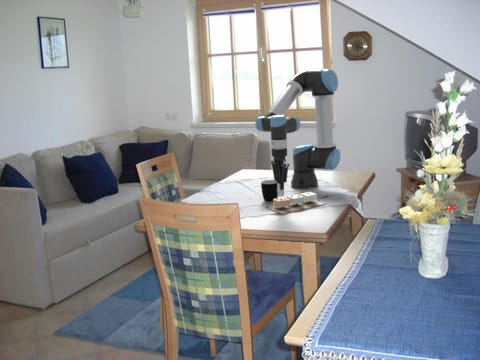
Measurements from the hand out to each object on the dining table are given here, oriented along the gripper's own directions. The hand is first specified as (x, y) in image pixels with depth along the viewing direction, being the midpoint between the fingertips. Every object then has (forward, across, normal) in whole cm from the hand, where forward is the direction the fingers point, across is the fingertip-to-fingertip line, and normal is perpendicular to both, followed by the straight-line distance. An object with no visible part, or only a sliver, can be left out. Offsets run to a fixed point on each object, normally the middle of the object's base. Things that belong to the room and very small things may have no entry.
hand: (280, 195), depth 273 cm
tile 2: (+5, 0, +8) cm, 10 cm away
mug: (+7, -19, +5) cm, 20 cm away
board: (+7, 0, +8) cm, 11 cm away
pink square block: (+5, 0, 0) cm, 5 cm away
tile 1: (+5, 0, +16) cm, 17 cm away
